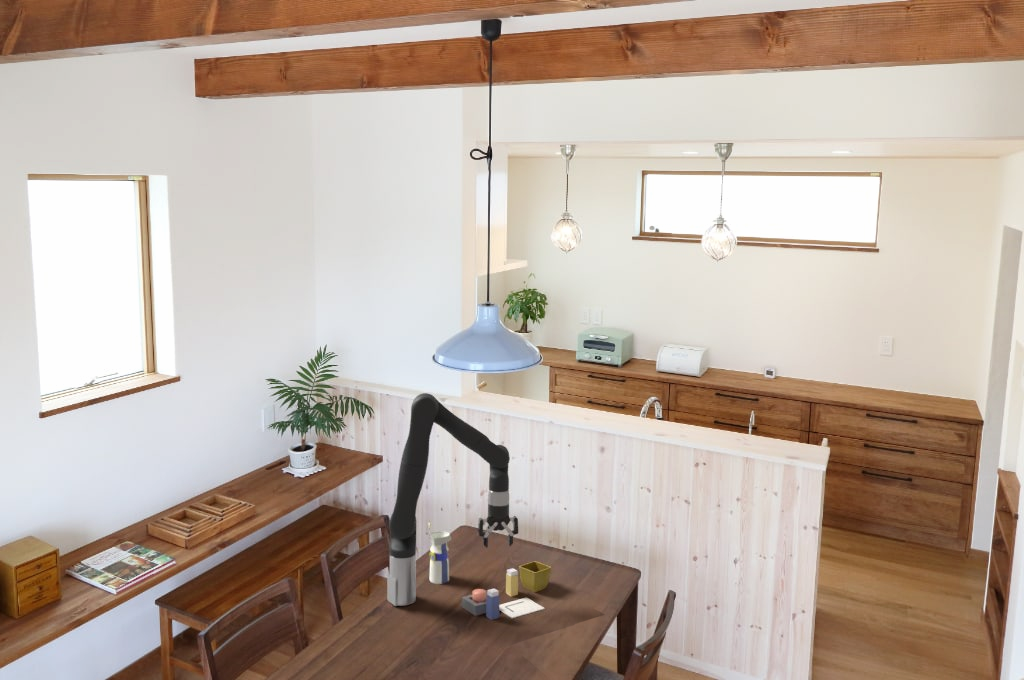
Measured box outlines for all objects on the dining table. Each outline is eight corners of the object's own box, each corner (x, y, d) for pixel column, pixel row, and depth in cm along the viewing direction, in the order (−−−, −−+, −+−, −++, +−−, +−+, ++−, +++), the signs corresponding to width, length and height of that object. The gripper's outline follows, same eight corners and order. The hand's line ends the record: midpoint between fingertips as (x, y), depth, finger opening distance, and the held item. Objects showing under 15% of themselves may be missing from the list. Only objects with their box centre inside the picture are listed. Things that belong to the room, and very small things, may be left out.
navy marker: (491, 620, 287) (491, 593, 286) (486, 616, 290) (486, 590, 289) (499, 617, 289) (499, 591, 288) (494, 614, 292) (494, 587, 291)
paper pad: (512, 618, 289) (512, 617, 289) (494, 607, 298) (494, 606, 298) (544, 609, 297) (544, 608, 297) (526, 598, 306) (526, 597, 306)
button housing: (475, 615, 290) (475, 606, 290) (461, 606, 298) (461, 597, 297) (497, 609, 295) (497, 600, 295) (483, 600, 303) (483, 591, 302)
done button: (477, 607, 293) (477, 595, 292) (469, 601, 297) (469, 591, 296) (489, 603, 296) (489, 592, 295) (481, 598, 300) (481, 587, 299)
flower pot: (534, 583, 320) (534, 560, 319) (551, 590, 313) (551, 566, 312) (518, 589, 313) (518, 566, 312) (534, 596, 307) (535, 572, 306)
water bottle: (437, 590, 311) (437, 524, 309) (423, 583, 318) (424, 518, 315) (454, 584, 317) (455, 520, 314) (441, 578, 323) (441, 514, 320)
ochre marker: (510, 597, 306) (511, 572, 305) (505, 594, 308) (506, 569, 307) (517, 595, 308) (518, 570, 307) (512, 592, 310) (513, 567, 309)
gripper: (480, 506, 294) (480, 551, 295) (520, 504, 297) (519, 548, 298) (476, 499, 301) (476, 543, 303) (515, 497, 304) (515, 541, 306)
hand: (497, 546), depth 300 cm, fingers open, 8 cm apart
